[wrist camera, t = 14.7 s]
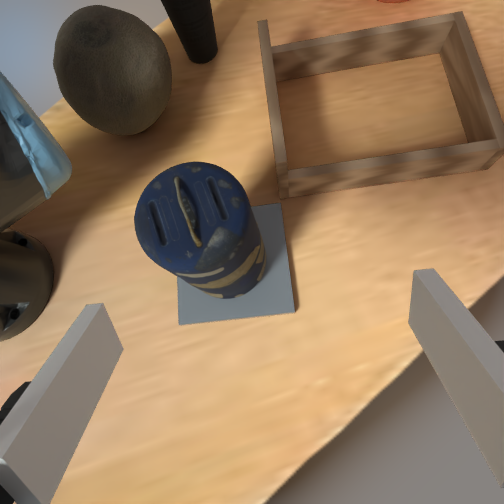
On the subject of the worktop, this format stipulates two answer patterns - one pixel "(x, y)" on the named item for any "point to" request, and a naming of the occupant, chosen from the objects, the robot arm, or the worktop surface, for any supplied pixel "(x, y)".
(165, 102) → the kiwi fruit
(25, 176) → the robot arm
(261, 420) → the worktop surface
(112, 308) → the worktop surface
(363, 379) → the worktop surface
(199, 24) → the drinking cup
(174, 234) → the canister
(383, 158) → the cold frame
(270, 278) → the slate tile
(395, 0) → the teapot
